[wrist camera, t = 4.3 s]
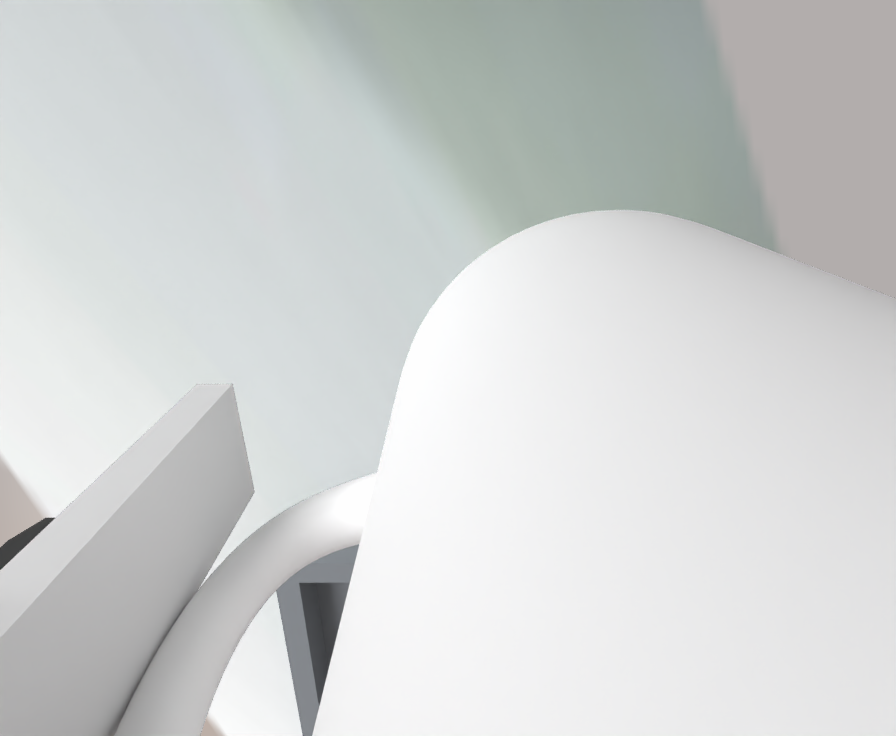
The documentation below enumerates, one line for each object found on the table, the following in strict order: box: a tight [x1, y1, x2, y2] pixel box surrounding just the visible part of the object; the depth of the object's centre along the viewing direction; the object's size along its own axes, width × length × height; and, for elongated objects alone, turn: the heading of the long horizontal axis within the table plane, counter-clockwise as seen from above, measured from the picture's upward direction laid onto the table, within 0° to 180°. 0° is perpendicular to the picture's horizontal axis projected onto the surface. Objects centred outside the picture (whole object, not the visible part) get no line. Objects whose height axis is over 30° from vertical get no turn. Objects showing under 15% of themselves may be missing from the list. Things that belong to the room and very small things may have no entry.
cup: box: [114, 210, 896, 736], centre depth 8 cm, size 8×12×10 cm
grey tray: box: [276, 544, 359, 736], centre depth 25 cm, size 15×20×2 cm
